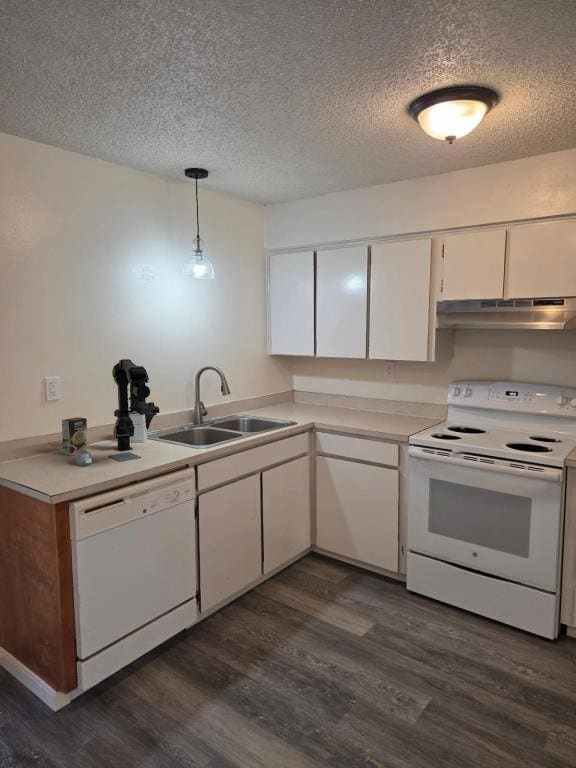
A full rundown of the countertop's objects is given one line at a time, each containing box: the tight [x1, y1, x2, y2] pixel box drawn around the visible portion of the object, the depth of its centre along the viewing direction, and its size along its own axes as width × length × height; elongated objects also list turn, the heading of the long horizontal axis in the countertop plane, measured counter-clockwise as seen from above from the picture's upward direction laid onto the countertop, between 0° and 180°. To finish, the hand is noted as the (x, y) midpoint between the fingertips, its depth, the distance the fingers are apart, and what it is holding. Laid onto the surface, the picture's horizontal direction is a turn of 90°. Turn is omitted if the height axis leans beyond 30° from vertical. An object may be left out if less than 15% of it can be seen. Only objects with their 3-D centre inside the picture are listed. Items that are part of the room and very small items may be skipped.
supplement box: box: [129, 409, 148, 444], centre depth 260 cm, size 10×9×17 cm
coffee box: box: [61, 417, 89, 456], centre depth 234 cm, size 9×6×16 cm
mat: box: [108, 451, 142, 463], centre depth 228 cm, size 12×10×1 cm
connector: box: [74, 450, 93, 467], centre depth 216 cm, size 12×4×5 cm, turn 43°
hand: (137, 430), depth 219 cm, fingers open, 9 cm apart
